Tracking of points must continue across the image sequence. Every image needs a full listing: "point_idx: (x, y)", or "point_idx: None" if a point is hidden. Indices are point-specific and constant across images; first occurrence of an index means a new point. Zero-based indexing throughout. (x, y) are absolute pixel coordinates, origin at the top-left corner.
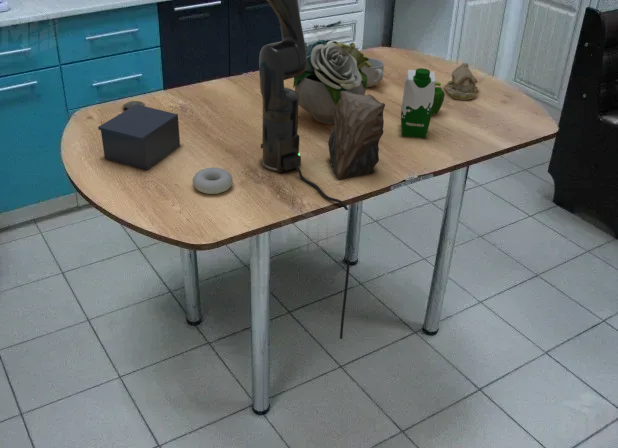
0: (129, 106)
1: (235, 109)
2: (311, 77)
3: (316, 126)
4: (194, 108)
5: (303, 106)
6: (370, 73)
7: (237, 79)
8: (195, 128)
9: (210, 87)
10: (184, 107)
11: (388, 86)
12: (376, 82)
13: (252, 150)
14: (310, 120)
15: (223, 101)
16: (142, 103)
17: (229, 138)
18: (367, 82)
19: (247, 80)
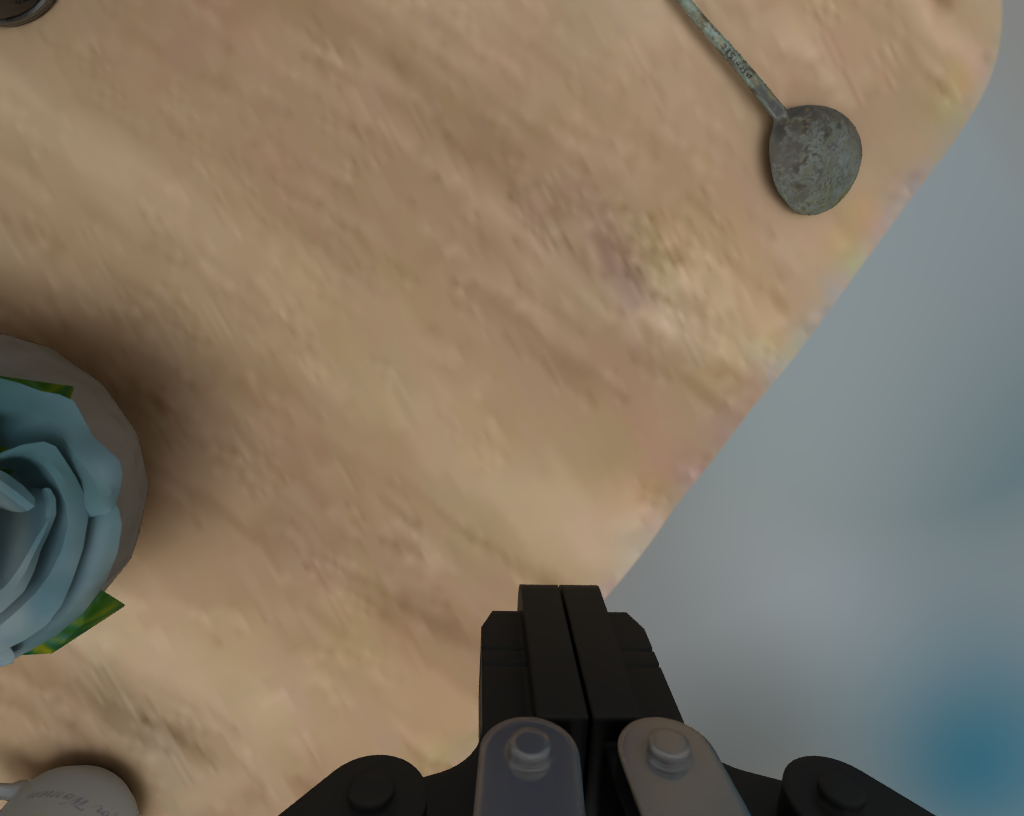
0: (822, 113)
1: (427, 356)
2: (109, 583)
3: None
4: (583, 289)
5: (46, 348)
6: (8, 810)
7: None
8: (484, 107)
9: (620, 502)
10: (625, 279)
11: None
12: (4, 784)
13: (160, 15)
14: None
15: (508, 404)
16: (785, 172)
17: (307, 82)
18: (43, 774)
19: None
